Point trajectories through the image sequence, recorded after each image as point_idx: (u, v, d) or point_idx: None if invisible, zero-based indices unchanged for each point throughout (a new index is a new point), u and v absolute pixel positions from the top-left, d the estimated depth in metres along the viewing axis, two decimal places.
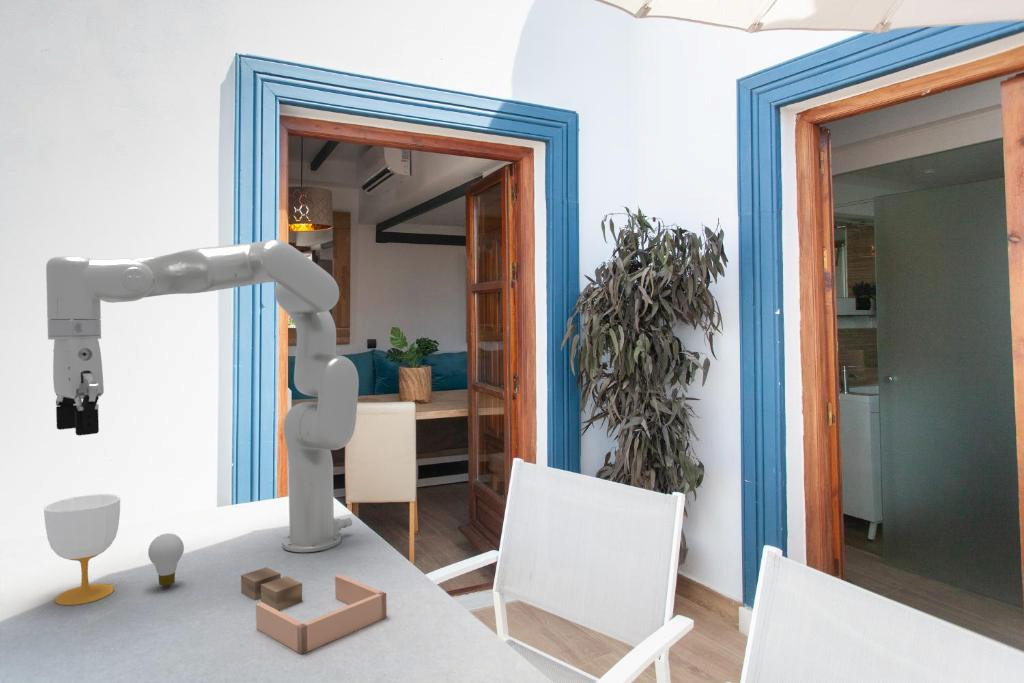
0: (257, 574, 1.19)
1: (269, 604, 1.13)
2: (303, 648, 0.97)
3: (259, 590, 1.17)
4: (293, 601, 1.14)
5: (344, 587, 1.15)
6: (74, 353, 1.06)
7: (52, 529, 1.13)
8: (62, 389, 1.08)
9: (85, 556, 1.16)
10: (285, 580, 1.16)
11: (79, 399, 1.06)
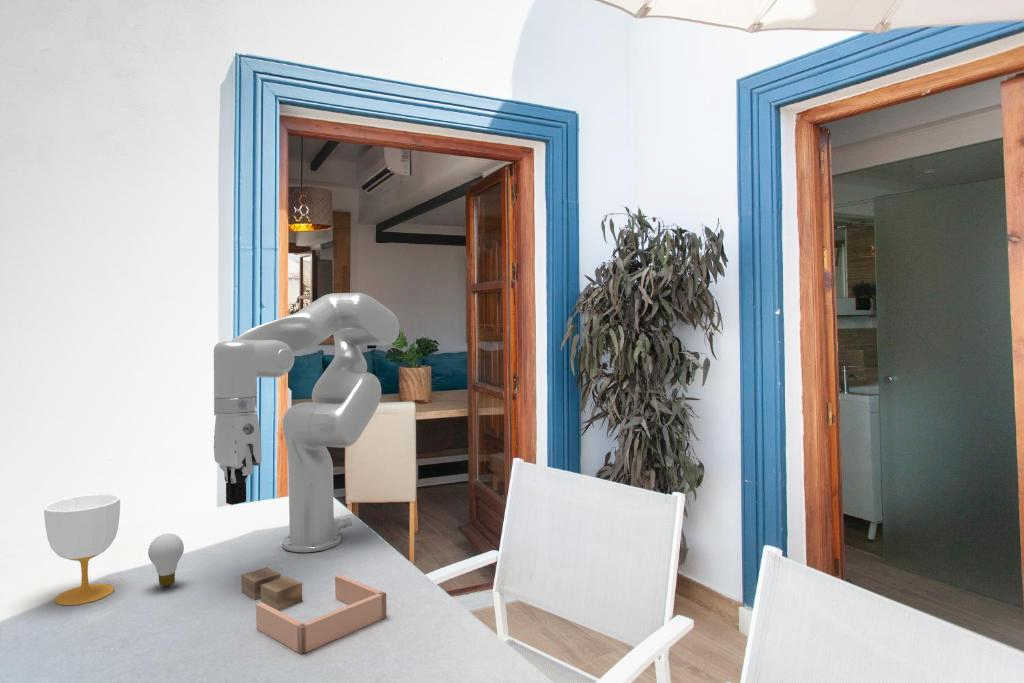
0: (257, 574, 1.19)
1: (269, 604, 1.13)
2: (303, 648, 0.97)
3: (259, 590, 1.17)
4: (293, 601, 1.14)
5: (344, 587, 1.15)
6: (240, 428, 1.20)
7: (52, 529, 1.13)
8: (226, 459, 1.22)
9: (85, 556, 1.16)
10: (284, 580, 1.16)
11: (235, 475, 1.22)
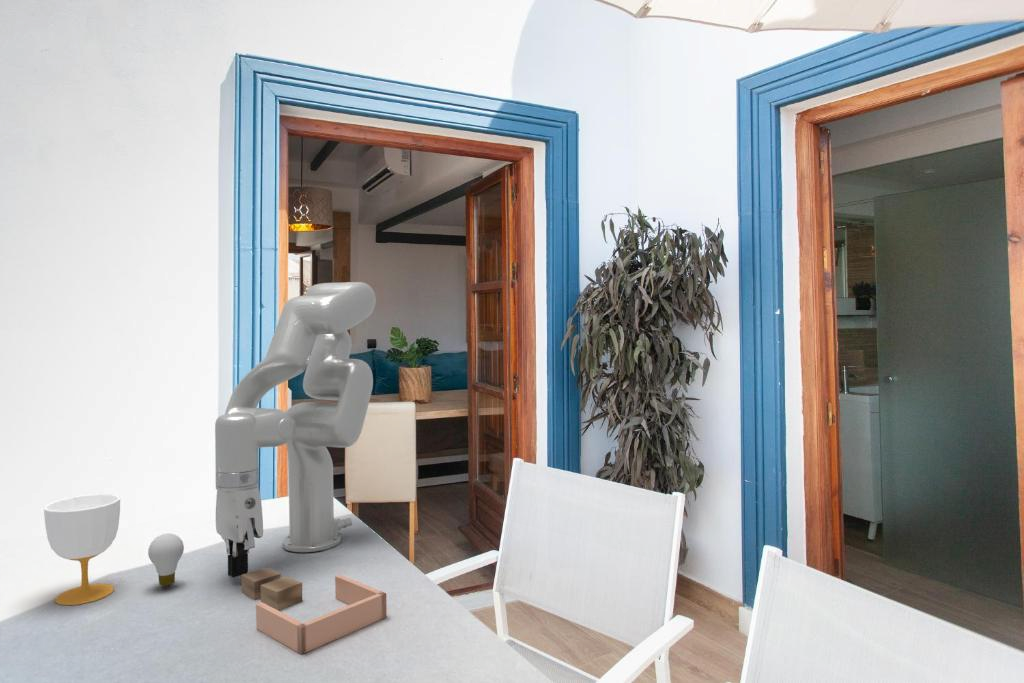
0: (257, 574, 1.19)
1: (269, 604, 1.13)
2: (303, 648, 0.97)
3: (258, 590, 1.17)
4: (294, 601, 1.14)
5: (344, 587, 1.15)
6: (242, 503, 1.20)
7: (52, 529, 1.13)
8: (228, 533, 1.22)
9: (85, 556, 1.16)
10: (284, 580, 1.16)
11: (237, 548, 1.22)
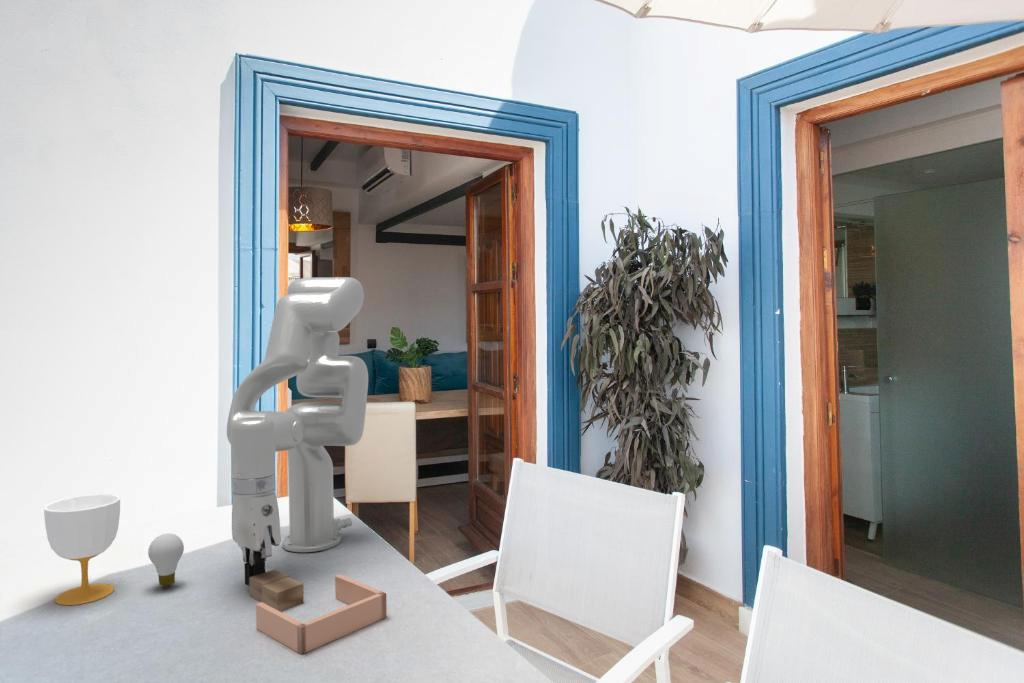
0: (266, 576, 1.18)
1: (270, 605, 1.13)
2: (303, 648, 0.97)
3: None
4: (294, 602, 1.14)
5: (344, 587, 1.15)
6: (258, 510, 1.16)
7: (52, 529, 1.13)
8: (244, 541, 1.18)
9: (85, 556, 1.16)
10: (286, 581, 1.16)
11: (254, 556, 1.18)
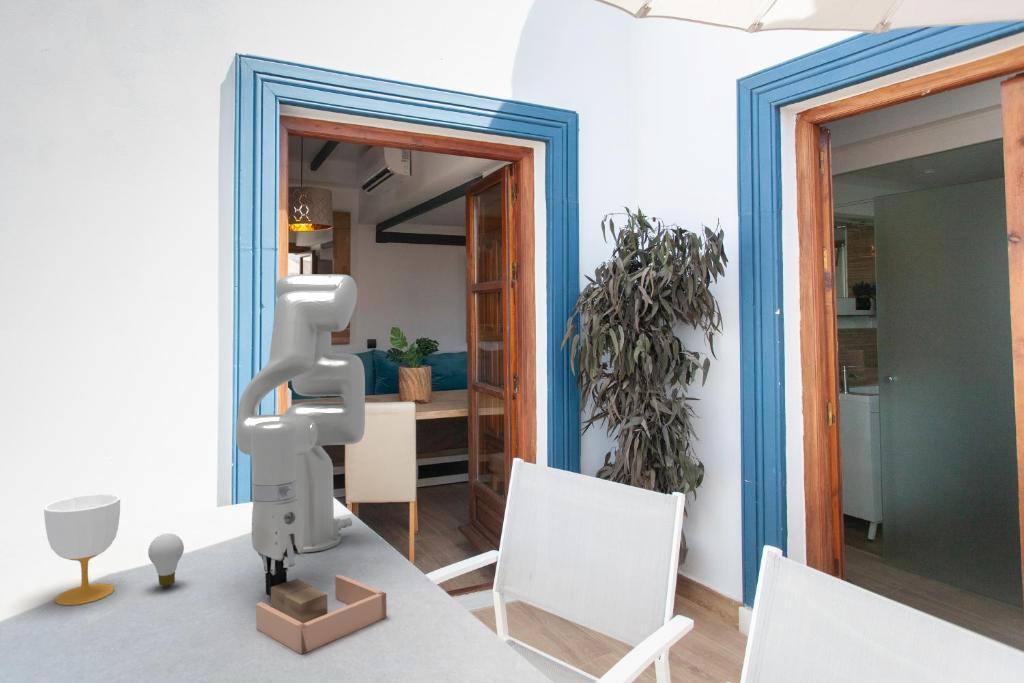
0: (288, 586, 1.13)
1: (293, 616, 1.08)
2: (303, 648, 0.97)
3: None
4: (318, 613, 1.09)
5: (344, 587, 1.15)
6: (281, 518, 1.12)
7: (52, 529, 1.13)
8: (266, 549, 1.14)
9: (85, 556, 1.16)
10: (309, 591, 1.11)
11: (275, 566, 1.14)
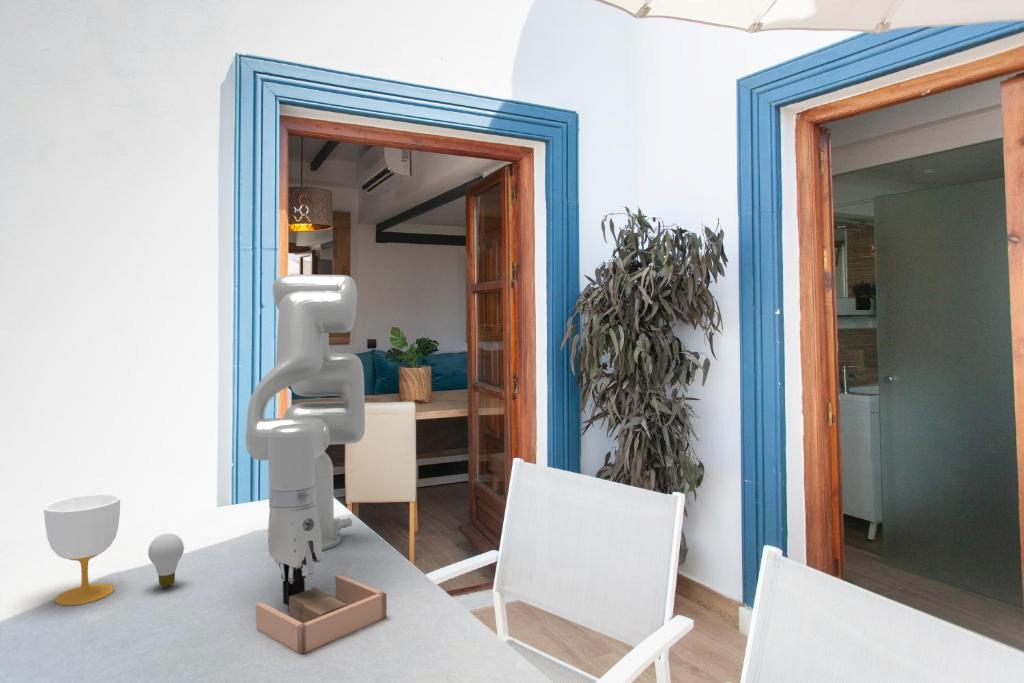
0: (306, 596, 1.10)
1: None
2: (303, 648, 0.97)
3: None
4: None
5: (344, 587, 1.15)
6: (299, 525, 1.08)
7: (52, 529, 1.13)
8: (283, 557, 1.10)
9: (85, 556, 1.16)
10: (328, 601, 1.08)
11: (294, 574, 1.10)
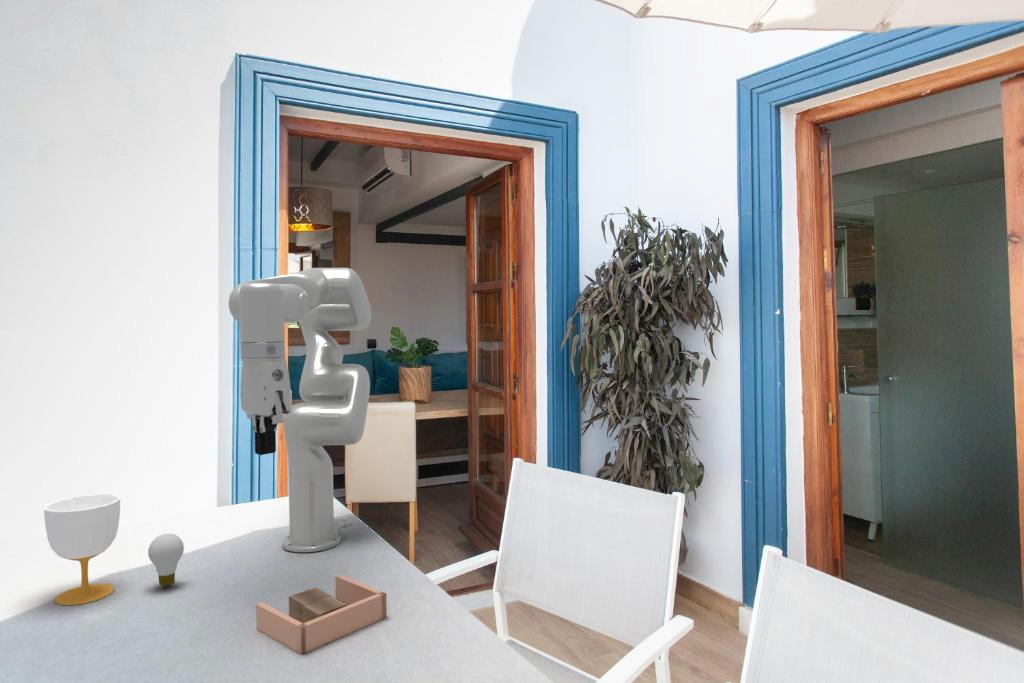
0: (306, 596, 1.10)
1: None
2: (303, 648, 0.97)
3: None
4: None
5: (344, 587, 1.15)
6: (269, 374, 1.13)
7: (52, 529, 1.13)
8: (254, 407, 1.15)
9: (85, 556, 1.16)
10: (328, 601, 1.08)
11: (264, 423, 1.16)
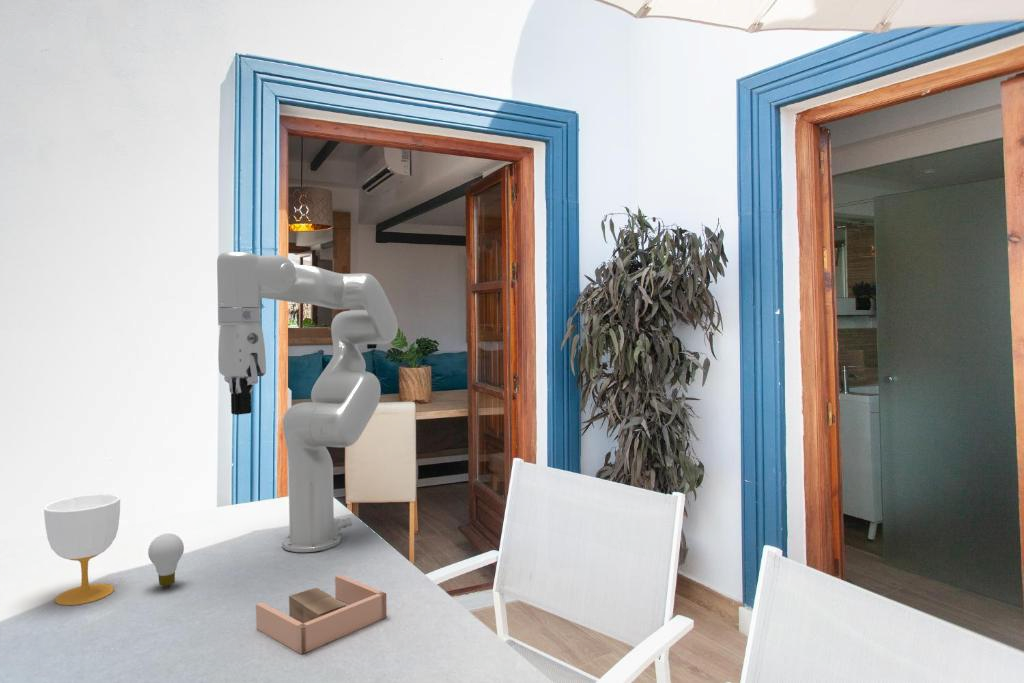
0: (306, 596, 1.10)
1: None
2: (303, 648, 0.97)
3: None
4: None
5: (344, 587, 1.15)
6: (244, 337, 1.20)
7: (52, 529, 1.13)
8: (231, 369, 1.22)
9: (85, 556, 1.16)
10: (329, 601, 1.08)
11: (240, 385, 1.22)
